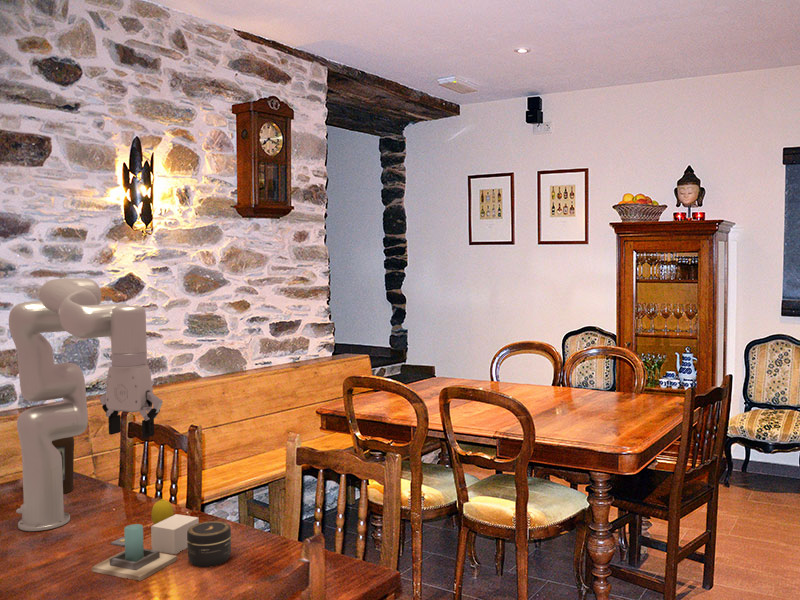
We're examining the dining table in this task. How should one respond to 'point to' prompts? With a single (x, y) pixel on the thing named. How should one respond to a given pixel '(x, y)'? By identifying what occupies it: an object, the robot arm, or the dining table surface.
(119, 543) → the tile
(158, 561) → the board
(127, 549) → the peg
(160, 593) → the dining table surface
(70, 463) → the olive oil
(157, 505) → the lemon
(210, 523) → the jar
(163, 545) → the block
